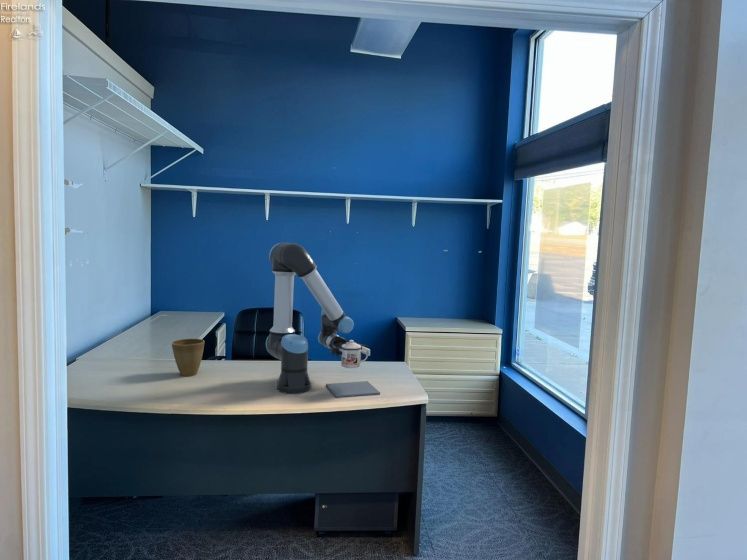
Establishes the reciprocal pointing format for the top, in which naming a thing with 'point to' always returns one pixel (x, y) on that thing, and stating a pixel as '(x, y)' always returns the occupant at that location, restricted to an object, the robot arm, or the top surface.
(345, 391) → the charcoal mat
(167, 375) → the top surface
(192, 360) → the plant pot
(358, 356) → the teacup with lid
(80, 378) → the top surface
